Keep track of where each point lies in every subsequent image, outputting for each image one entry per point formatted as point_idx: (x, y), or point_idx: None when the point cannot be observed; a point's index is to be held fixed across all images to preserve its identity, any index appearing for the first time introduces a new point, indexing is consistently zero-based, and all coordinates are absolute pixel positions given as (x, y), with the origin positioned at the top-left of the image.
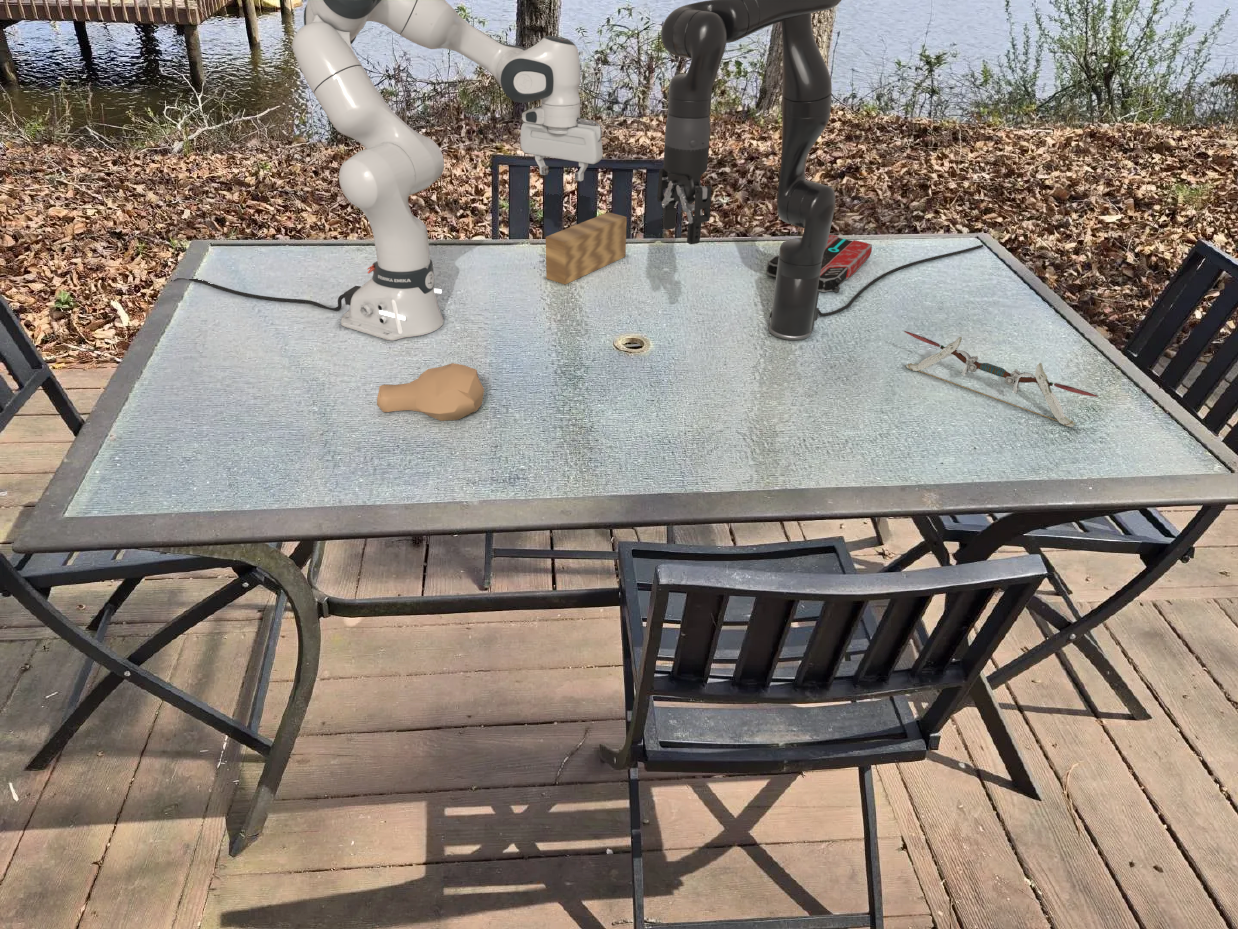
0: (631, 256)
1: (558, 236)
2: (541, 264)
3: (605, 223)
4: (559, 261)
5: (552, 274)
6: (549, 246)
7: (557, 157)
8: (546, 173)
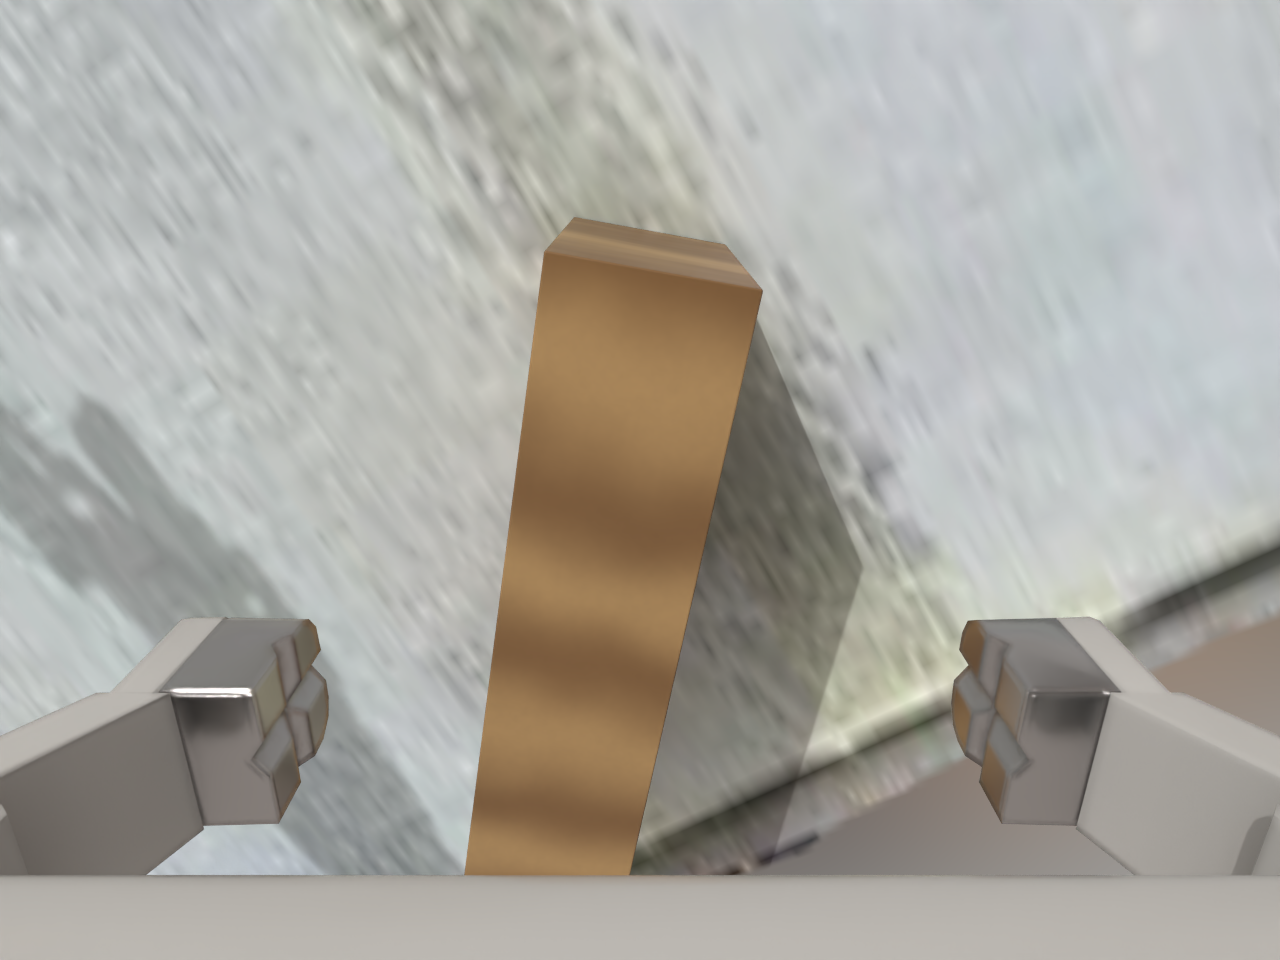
0: (477, 752)
1: (667, 355)
2: (860, 432)
3: (508, 766)
4: (611, 240)
5: (676, 239)
6: (712, 269)
7: (642, 877)
8: (974, 676)
